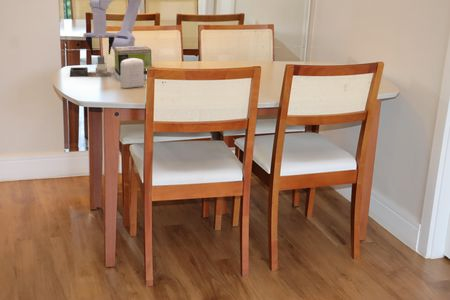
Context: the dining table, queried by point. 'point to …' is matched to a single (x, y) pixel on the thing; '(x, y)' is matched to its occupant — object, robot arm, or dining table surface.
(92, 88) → the dining table surface
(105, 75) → the panel
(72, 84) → the dining table surface
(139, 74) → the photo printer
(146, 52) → the tea box
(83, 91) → the dining table surface
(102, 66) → the plug
